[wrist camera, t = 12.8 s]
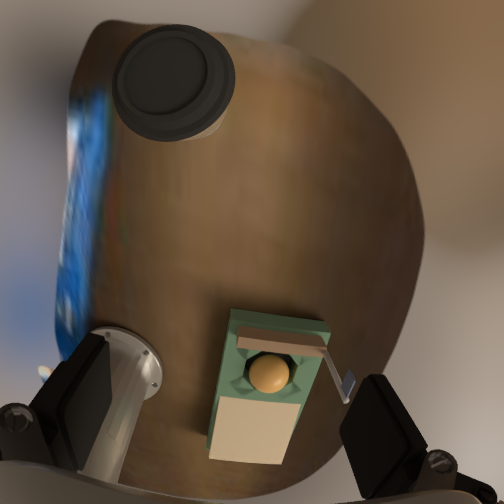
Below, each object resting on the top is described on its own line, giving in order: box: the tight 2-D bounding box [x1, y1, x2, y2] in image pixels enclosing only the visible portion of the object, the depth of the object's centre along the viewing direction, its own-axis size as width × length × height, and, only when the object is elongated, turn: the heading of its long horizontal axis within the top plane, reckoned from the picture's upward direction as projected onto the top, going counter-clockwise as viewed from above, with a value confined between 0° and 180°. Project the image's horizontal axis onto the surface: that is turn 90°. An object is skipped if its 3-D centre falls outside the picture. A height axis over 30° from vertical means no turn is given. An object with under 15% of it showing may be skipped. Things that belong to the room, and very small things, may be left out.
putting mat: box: [206, 308, 356, 464], centre depth 35 cm, size 25×12×14 cm, turn 169°
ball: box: [249, 354, 289, 393], centre depth 38 cm, size 5×5×5 cm
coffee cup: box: [112, 24, 235, 142], centre depth 24 cm, size 9×9×15 cm
